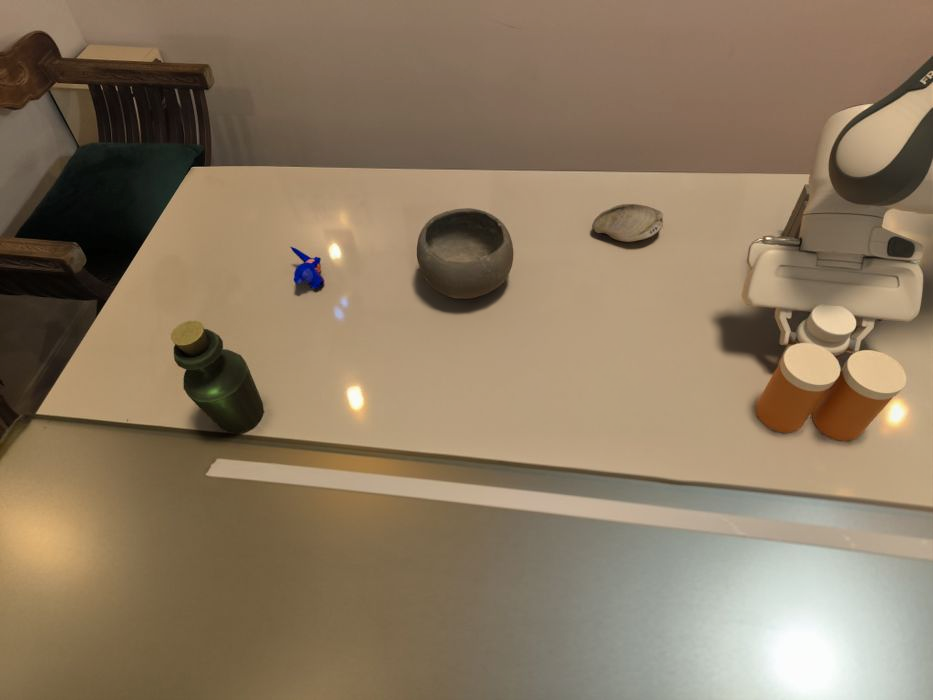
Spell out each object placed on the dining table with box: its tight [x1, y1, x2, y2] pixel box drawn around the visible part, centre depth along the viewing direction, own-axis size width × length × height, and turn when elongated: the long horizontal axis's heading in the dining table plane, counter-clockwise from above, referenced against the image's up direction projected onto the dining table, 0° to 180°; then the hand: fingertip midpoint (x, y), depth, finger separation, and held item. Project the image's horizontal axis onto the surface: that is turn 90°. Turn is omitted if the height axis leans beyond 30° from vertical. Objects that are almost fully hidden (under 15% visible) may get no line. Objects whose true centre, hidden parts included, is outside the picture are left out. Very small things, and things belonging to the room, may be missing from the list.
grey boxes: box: [781, 184, 810, 238], centre depth 95 cm, size 5×9×10 cm, turn 78°
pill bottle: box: [777, 304, 857, 366], centre depth 80 cm, size 6×6×11 cm
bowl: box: [416, 207, 514, 299], centre depth 95 cm, size 15×15×10 cm
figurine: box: [290, 246, 325, 290], centre depth 99 cm, size 5×8×5 cm, turn 12°
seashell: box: [591, 203, 664, 243], centre depth 101 cm, size 12×8×5 cm
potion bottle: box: [170, 319, 265, 434], centre depth 78 cm, size 8×8×18 cm
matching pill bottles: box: [755, 343, 907, 442], centre depth 75 cm, size 6×13×11 cm, turn 78°
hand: (818, 348), depth 79 cm, fingers closed on pill bottle, 6 cm apart
